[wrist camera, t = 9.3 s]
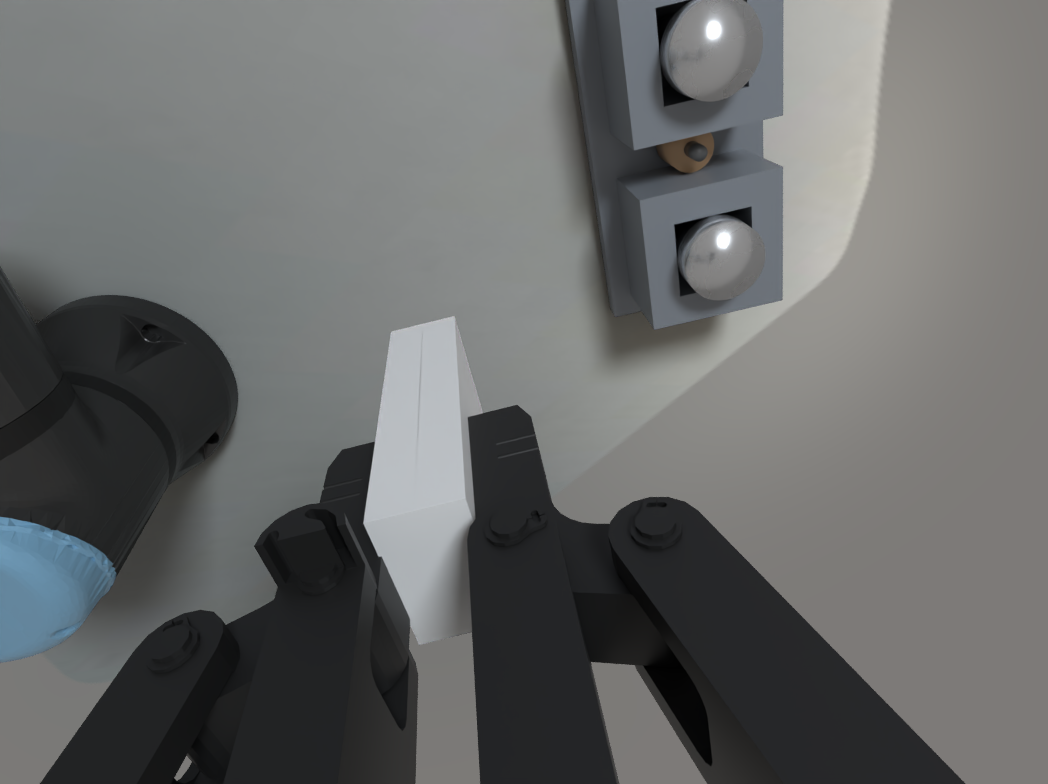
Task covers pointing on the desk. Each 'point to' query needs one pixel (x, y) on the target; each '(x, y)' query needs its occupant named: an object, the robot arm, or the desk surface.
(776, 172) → the mount
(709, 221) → the knob
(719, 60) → the knob
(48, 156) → the desk surface
